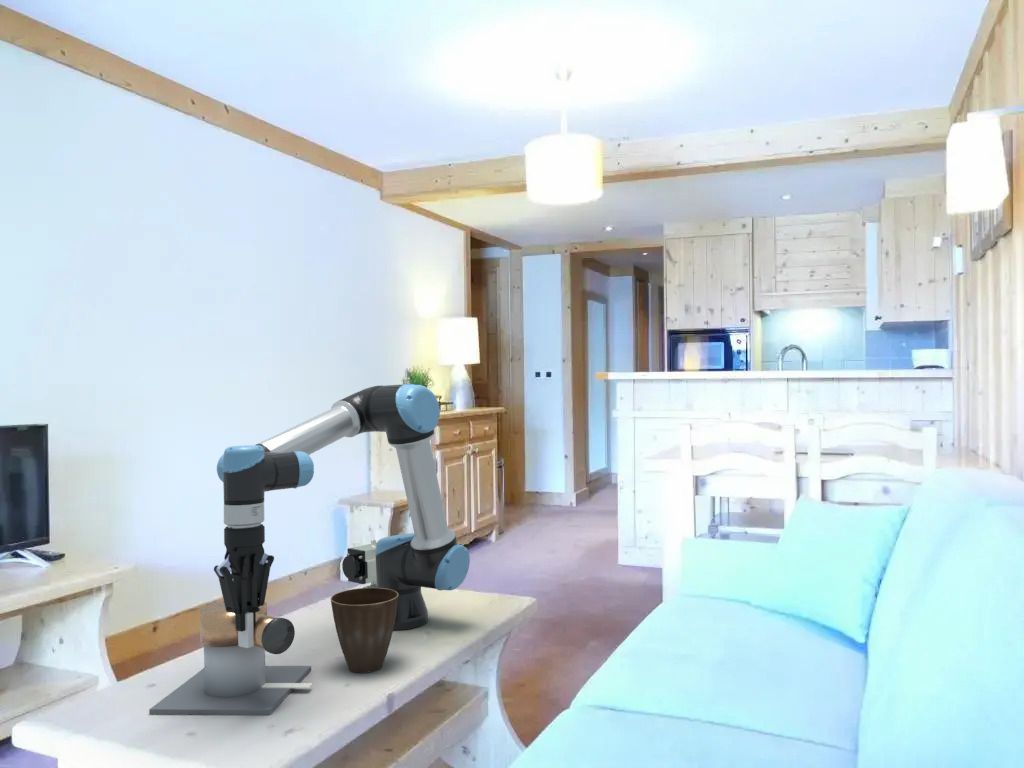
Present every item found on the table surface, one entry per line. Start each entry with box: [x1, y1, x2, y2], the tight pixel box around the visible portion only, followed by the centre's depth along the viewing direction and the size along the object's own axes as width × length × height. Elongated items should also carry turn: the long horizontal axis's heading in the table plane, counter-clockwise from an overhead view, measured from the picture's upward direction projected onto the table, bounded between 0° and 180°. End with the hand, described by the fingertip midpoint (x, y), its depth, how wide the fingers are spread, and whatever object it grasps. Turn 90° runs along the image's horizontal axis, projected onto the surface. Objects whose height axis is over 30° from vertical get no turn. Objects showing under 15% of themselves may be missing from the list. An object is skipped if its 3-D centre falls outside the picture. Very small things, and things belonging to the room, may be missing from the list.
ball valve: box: [341, 539, 377, 588], centre depth 232 cm, size 18×8×18 cm, turn 138°
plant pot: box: [330, 587, 398, 674], centre depth 175 cm, size 15×15×16 cm
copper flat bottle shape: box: [199, 601, 296, 655], centre depth 160 cm, size 23×13×7 cm, turn 50°
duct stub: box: [148, 644, 314, 716], centre depth 163 cm, size 28×24×11 cm
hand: (246, 646), depth 152 cm, fingers closed
